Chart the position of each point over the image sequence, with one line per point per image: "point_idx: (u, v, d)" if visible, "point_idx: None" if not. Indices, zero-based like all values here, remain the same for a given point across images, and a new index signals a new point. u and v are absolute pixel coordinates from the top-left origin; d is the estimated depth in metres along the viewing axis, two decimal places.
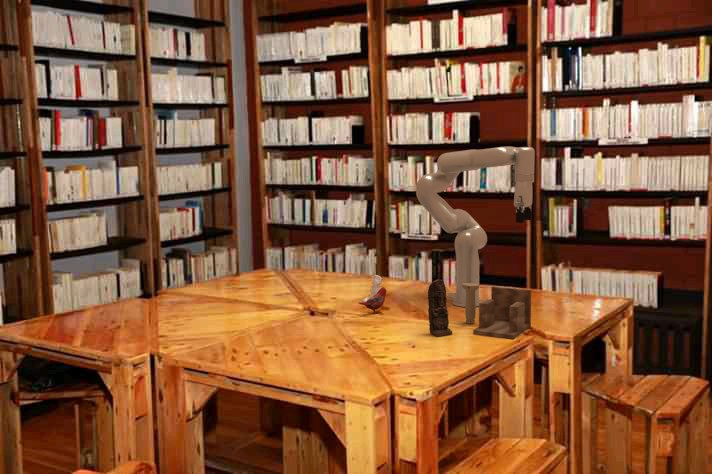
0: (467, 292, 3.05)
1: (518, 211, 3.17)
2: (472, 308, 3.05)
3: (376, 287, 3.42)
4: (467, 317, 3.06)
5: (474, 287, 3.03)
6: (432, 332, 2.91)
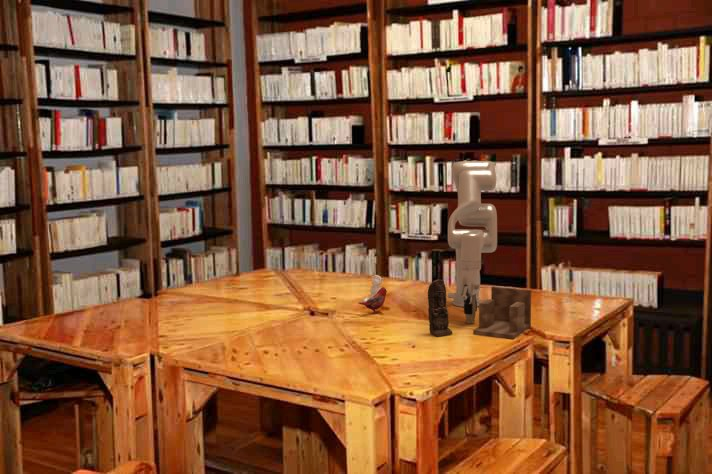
0: None
1: (466, 302, 3.03)
2: (472, 308, 3.05)
3: (376, 287, 3.42)
4: (467, 317, 3.06)
5: None
6: (432, 332, 2.91)
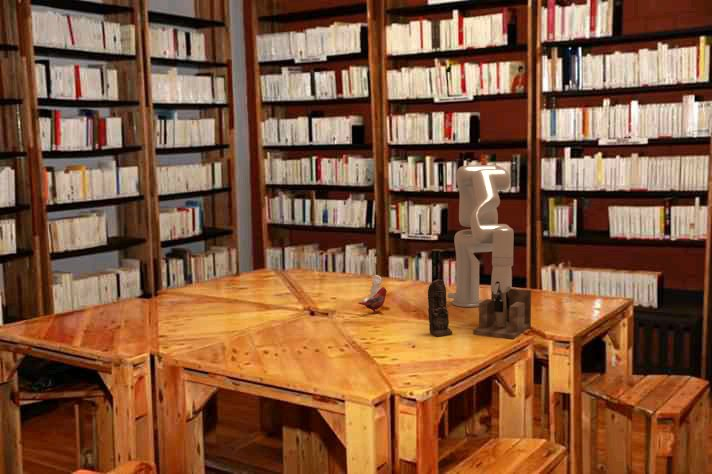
0: None
1: (497, 300, 2.89)
2: (503, 311, 2.93)
3: (376, 287, 3.42)
4: (498, 320, 2.94)
5: None
6: (432, 332, 2.91)
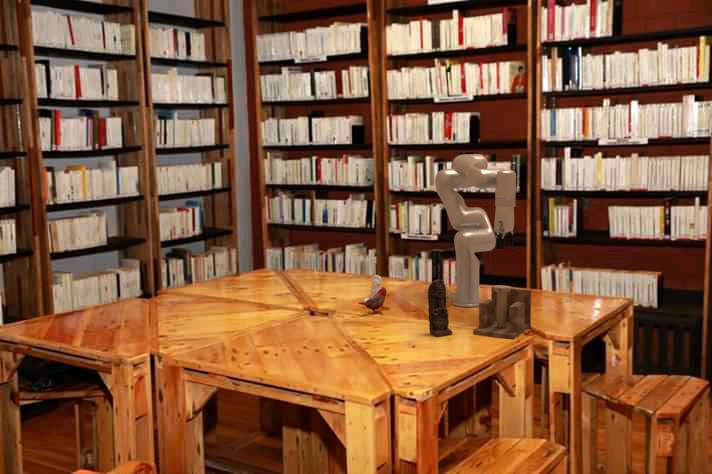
0: (498, 295, 2.93)
1: (498, 237, 3.04)
2: (503, 311, 2.93)
3: (376, 287, 3.42)
4: (498, 321, 2.94)
5: (506, 289, 2.91)
6: (432, 332, 2.91)
